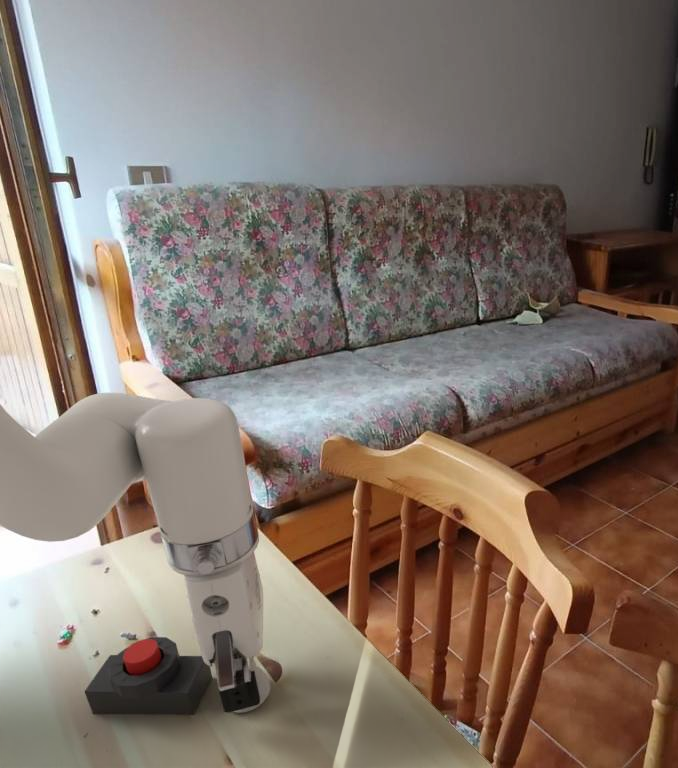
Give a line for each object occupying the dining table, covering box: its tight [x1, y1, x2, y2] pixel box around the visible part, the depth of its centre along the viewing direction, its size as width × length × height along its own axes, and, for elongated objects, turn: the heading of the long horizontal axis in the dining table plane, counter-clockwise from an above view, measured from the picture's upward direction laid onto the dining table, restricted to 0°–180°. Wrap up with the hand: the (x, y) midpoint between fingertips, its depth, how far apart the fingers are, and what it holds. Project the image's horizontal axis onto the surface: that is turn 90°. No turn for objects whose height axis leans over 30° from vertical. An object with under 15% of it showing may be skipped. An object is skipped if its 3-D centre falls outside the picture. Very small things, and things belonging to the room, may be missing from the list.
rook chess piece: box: [233, 644, 271, 713], centre depth 63 cm, size 4×4×8 cm
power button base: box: [84, 636, 213, 716], centre depth 63 cm, size 10×6×5 cm, turn 90°
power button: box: [123, 638, 161, 675], centre depth 62 cm, size 3×3×2 cm
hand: (243, 676), depth 63 cm, fingers open, 6 cm apart
